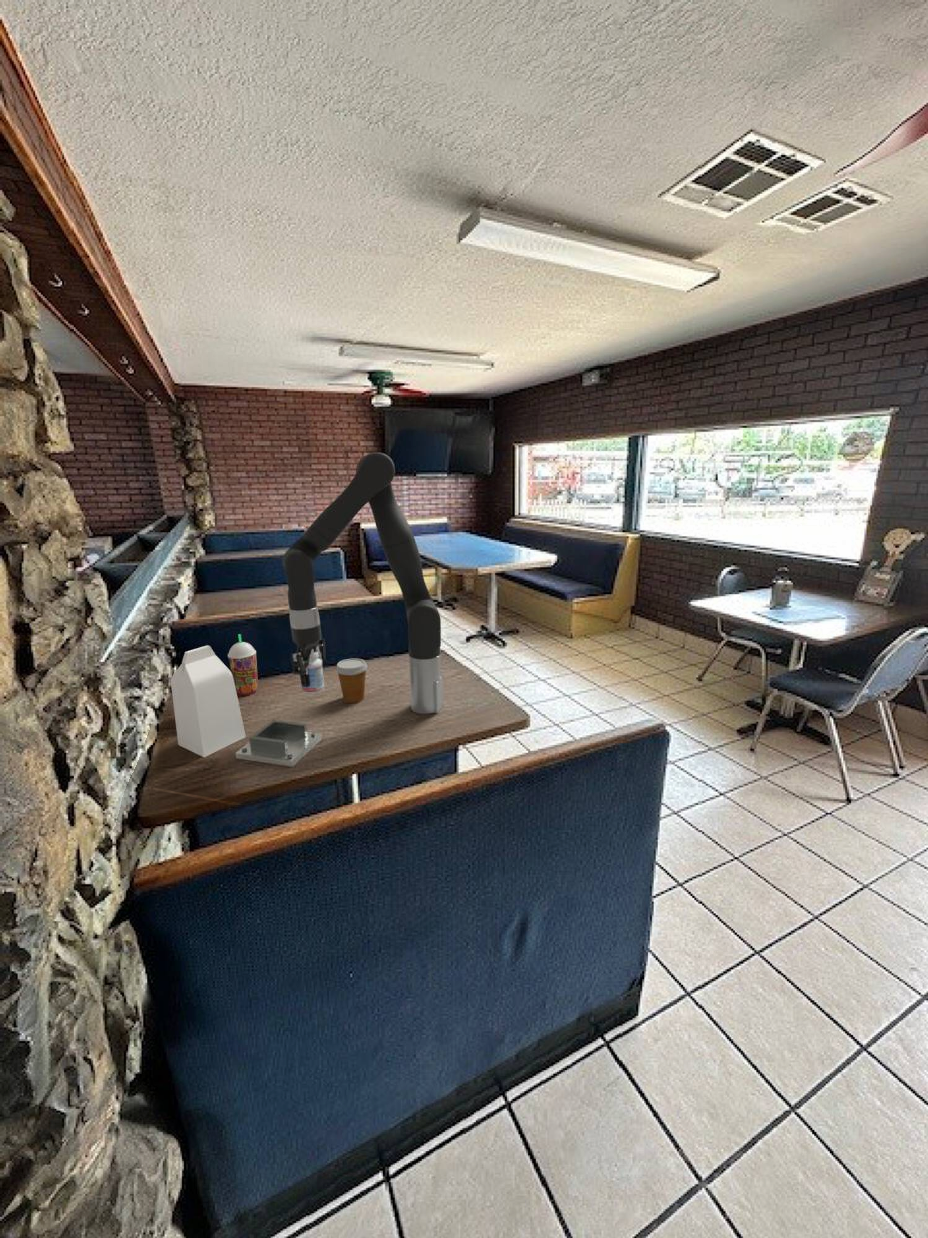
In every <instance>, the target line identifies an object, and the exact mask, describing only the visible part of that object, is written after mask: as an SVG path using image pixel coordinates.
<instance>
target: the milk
mask: <svg viewBox="0 0 928 1238" xmlns="http://www.w3.org/2000/svg"><path fill="white" fill-rule="evenodd" d="M213 650H214V649H212V647H211V646H210V645H205V646H201V647H198V648H194V649H191V650H188V651H185V652H184V655H183V658H182V661H181V664H180V665H179V667H178V668H177V669H176V670H175V672H174V673H173V675H172V676H171V678H170V686H171V695H172V702H173V711H174V719H175V728H176V737H177V745H178V746H180V747H182V748H184V749H185V750H188V751H190V752H192V753H194V754H196V755H198V756H200V757H203V758H206V757H208V756H210V755H212V754H214V753H215V752H218V751H219V750H222V749H224V748H226V747H228V746H230V745H232V744H234V743H236V742H238V741H241V740H243V739H244V738H246V732H245V731H246V730H245V728H244V727H245V726H244V722H243V717H242V716H243V715H242V713H241V707H240V703H239V698H238V693H237V692H236V688H235V684H234V679H233V675H232V672H231V669H229V668H228V667H227V666H226V665H225V664H224V662H223V661H222V660H221V659H220V658H219V657H218V656H217V655H216V653H215V651H213Z"/></svg>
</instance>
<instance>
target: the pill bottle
mask: <svg viewBox="0 0 928 1238" xmlns="http://www.w3.org/2000/svg"><path fill="white" fill-rule="evenodd" d="M318 656H319V655H318V652H314V653H313V655H312V662H311V666H309V672H308V674H309V679H310V686H309V687H303V686H302V685H301V684H300V685H301V686H300V687H301V691H302V693H303V694H305V695H317V694H320V693H321V692H324V689H325V679H324V670H323V663H322V661H321V660H320V659H319V658H318ZM302 662H305V663H306V662H307V661H303V660H302ZM303 666H304V670H305V665H303Z"/></svg>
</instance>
